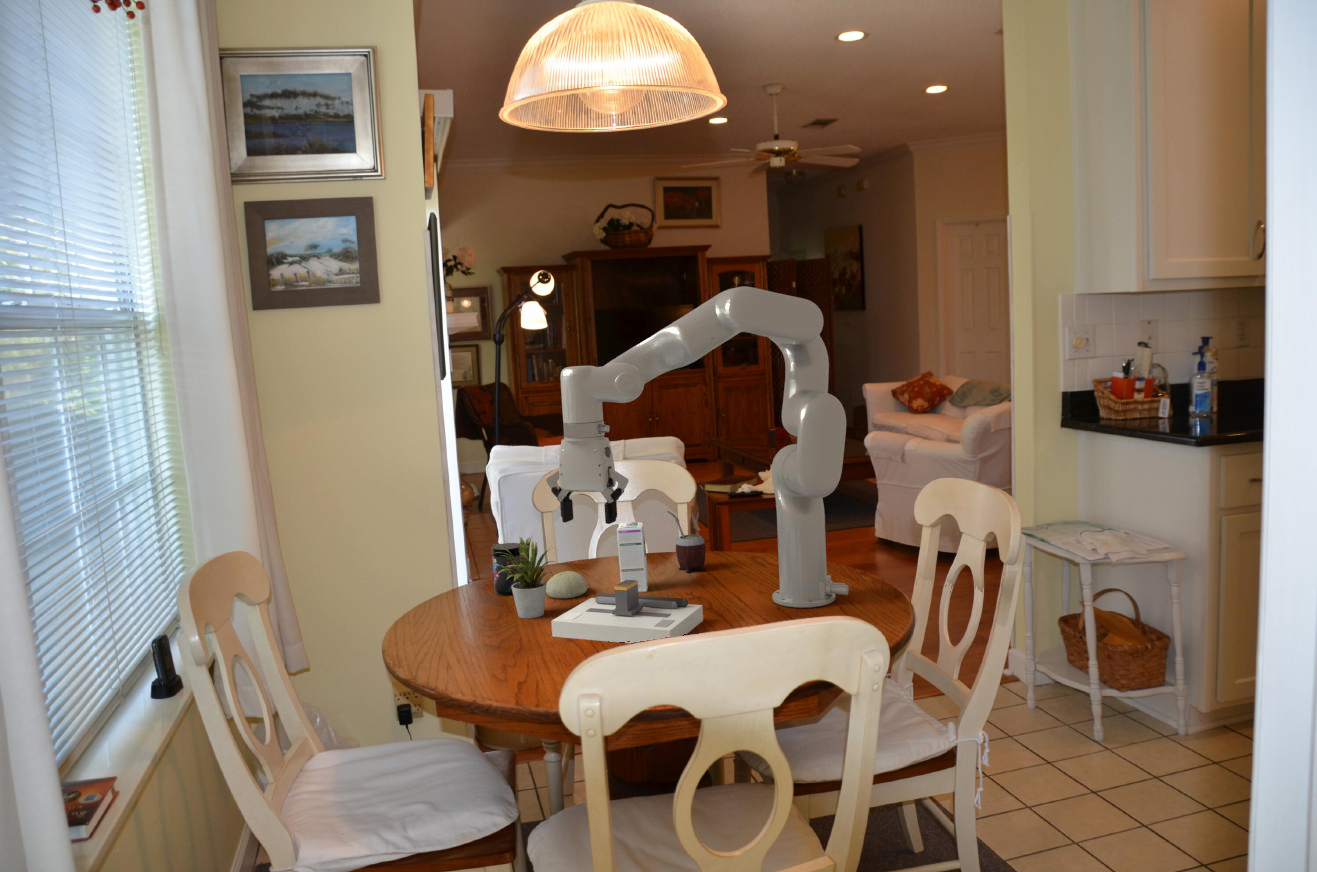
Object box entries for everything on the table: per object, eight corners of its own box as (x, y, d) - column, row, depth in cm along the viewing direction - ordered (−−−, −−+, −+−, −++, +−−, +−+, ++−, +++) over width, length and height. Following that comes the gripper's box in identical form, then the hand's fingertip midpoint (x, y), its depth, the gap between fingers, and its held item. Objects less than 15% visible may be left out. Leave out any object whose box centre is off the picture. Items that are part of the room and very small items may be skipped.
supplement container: (510, 586, 212) (507, 541, 211) (531, 589, 208) (528, 544, 207) (488, 593, 207) (485, 547, 206) (509, 597, 203) (506, 550, 202)
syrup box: (647, 592, 201) (643, 526, 200) (620, 593, 201) (616, 527, 200) (648, 585, 207) (644, 521, 205) (621, 586, 207) (618, 522, 206)
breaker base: (703, 620, 178) (701, 596, 178) (670, 646, 164) (669, 621, 163) (592, 612, 188) (590, 589, 188) (552, 636, 174) (550, 612, 173)
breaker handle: (643, 608, 177) (641, 580, 177) (631, 615, 172) (629, 587, 172) (624, 606, 179) (622, 579, 178) (612, 614, 174) (610, 586, 174)
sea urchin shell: (535, 591, 199) (546, 559, 204) (549, 609, 205) (560, 578, 210) (573, 593, 196) (583, 561, 201) (587, 612, 202) (596, 580, 206)
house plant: (485, 610, 194) (479, 533, 192) (549, 600, 199) (544, 524, 197) (501, 628, 180) (495, 545, 179) (569, 616, 186) (564, 536, 184)
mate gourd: (710, 567, 220) (707, 504, 219) (700, 575, 213) (696, 510, 211) (681, 566, 223) (677, 504, 222) (669, 574, 216) (666, 510, 214)
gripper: (633, 429, 175) (638, 519, 177) (554, 430, 182) (559, 516, 184) (616, 433, 168) (621, 527, 170) (533, 434, 175) (539, 524, 177)
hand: (589, 521), depth 177 cm, fingers open, 8 cm apart
